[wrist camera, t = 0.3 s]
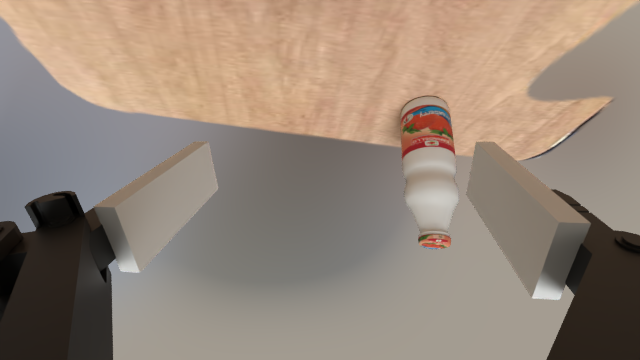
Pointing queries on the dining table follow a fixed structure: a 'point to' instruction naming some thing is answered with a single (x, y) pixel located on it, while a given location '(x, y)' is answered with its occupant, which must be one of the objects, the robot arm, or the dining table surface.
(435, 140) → the white yogurt drink bottle
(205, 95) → the dining table surface
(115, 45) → the dining table surface
